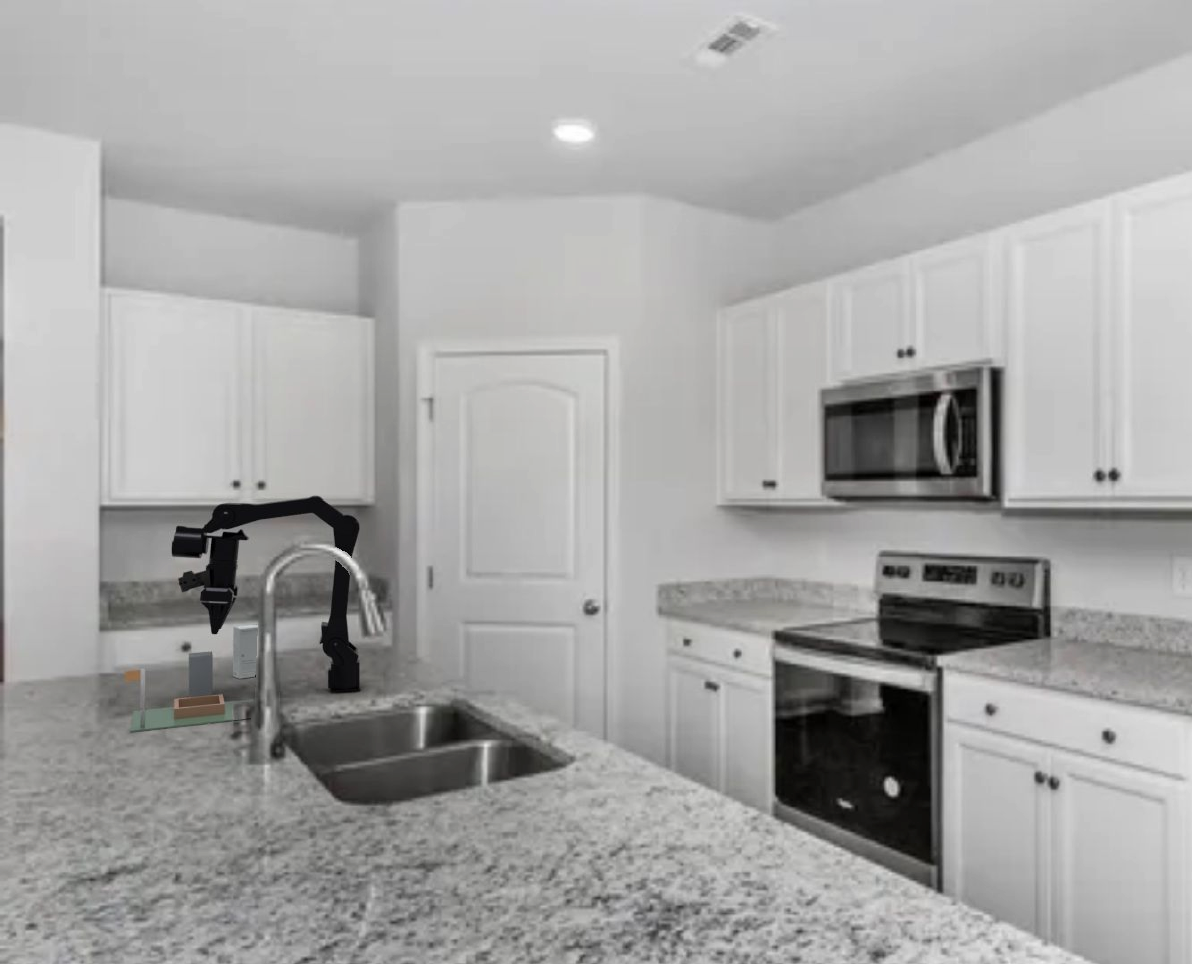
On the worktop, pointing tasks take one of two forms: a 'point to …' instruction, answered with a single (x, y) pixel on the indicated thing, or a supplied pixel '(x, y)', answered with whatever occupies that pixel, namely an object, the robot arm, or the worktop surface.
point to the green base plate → (179, 709)
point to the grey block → (200, 674)
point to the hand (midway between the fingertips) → (216, 631)
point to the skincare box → (244, 651)
